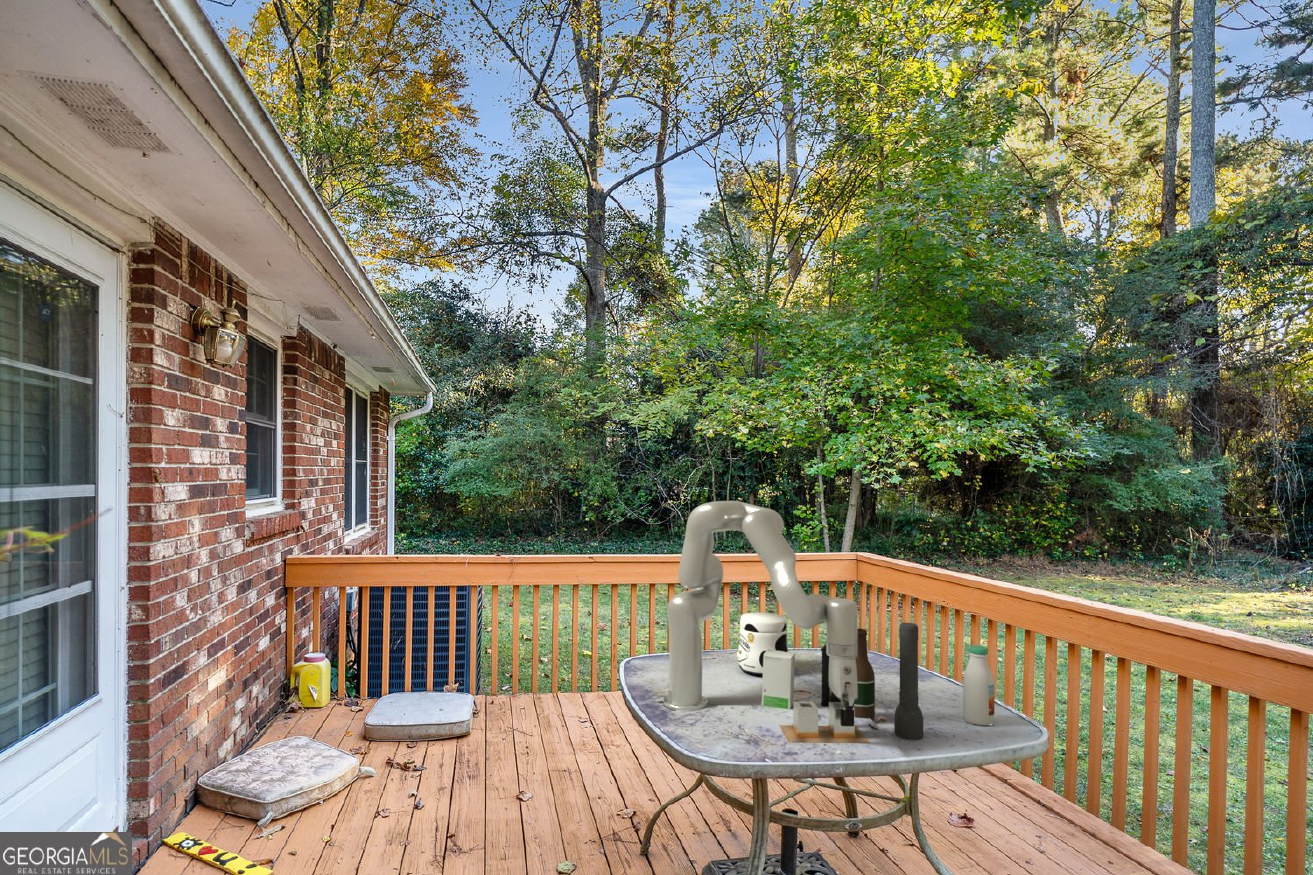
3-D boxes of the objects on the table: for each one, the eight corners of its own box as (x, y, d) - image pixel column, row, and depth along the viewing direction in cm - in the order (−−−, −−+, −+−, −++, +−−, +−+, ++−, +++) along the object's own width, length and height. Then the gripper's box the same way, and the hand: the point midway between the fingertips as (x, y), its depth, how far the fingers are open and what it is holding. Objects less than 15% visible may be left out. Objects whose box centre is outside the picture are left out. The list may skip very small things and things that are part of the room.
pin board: (788, 748, 165) (788, 725, 165) (779, 731, 176) (779, 709, 176) (870, 749, 166) (870, 726, 166) (856, 731, 177) (856, 710, 177)
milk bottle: (981, 728, 181) (981, 651, 182) (956, 718, 187) (956, 644, 188) (1000, 724, 184) (1000, 648, 185) (975, 714, 191) (975, 642, 192)
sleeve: (855, 738, 169) (855, 709, 169) (833, 738, 168) (834, 709, 169) (848, 730, 174) (848, 701, 174) (828, 729, 174) (828, 701, 174)
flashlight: (927, 734, 176) (900, 727, 180) (927, 624, 177) (900, 619, 182) (918, 742, 170) (890, 735, 175) (918, 628, 172) (890, 624, 176)
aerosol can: (851, 712, 191) (851, 639, 192) (820, 709, 193) (821, 637, 194) (849, 702, 199) (849, 632, 200) (819, 700, 201) (820, 631, 202)
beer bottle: (870, 726, 181) (871, 634, 182) (841, 720, 185) (842, 630, 186) (878, 717, 187) (878, 628, 189) (850, 711, 192) (850, 624, 193)
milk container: (726, 670, 229) (726, 616, 230) (758, 661, 241) (759, 609, 242) (767, 682, 217) (767, 625, 217) (799, 672, 228) (800, 618, 229)
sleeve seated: (797, 737, 168) (797, 708, 169) (792, 729, 173) (792, 701, 174) (818, 737, 168) (819, 708, 169) (813, 729, 174) (813, 701, 174)
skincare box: (761, 710, 191) (761, 654, 192) (765, 703, 197) (766, 648, 198) (791, 714, 188) (791, 657, 189) (794, 707, 194) (795, 651, 195)
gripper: (867, 658, 163) (867, 731, 163) (846, 640, 181) (846, 706, 180) (836, 658, 163) (836, 731, 163) (818, 640, 181) (817, 706, 180)
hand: (841, 718), depth 171 cm, fingers open, 9 cm apart
